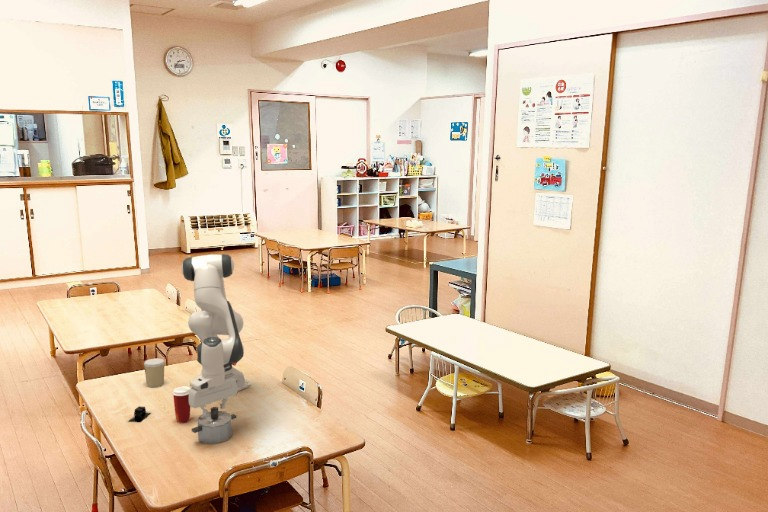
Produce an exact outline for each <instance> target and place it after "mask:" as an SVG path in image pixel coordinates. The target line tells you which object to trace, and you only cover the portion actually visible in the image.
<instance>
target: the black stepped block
mask: <svg viewBox="0 0 768 512" xmlns="http://www.w3.org/2000/svg"><path fill="white" fill-rule="evenodd" d="M146 409H147V408H146V406H140V405H139V406H138V407H136V408H135V409H134V412H133V415H134V416H133V417H131V418H130V419H129V420H128V422H131V423H142V422H143V421H145V419H147V418H148V417H149V416H150V415H151V414H152V412H147V411H146Z"/></svg>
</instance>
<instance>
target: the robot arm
mask: <svg viewBox="0 0 768 512" xmlns="http://www.w3.org/2000/svg"><path fill="white" fill-rule="evenodd" d="M234 270H235V262H234V261H233V259H232V256H230V255H229V254H225V253H222V254H217V253H216V254H205V255H198V256H190V257H186V258H184V259H183V261H182V264H181V275H183V278H184V279H186V281H189V282H190V281H191V282H193V283H194V284H193V296H194V302H195V304H196V306H197V307H198V308H199V309H201V310H199V311H193V312H192V313H191V314H190V315H189V319H188V322H187V323H188V328H189V330H190V331H191V332H192V333H194V334H195V335H196V336H197V338H198V339H199V340H200V343H199V344H198V345H197V347H196V353H197V359H196V361H197V362H198V364H200V365H201V367H202V368H201V374H199V375H198V376H196V377H195V378H193V379H192V380H191V381H190V382H189V387H190V391H189V405H190V408H193V409H198V408H200V409H201V410H202V414H203V415H207V414H208V412H209V409H207V408H206V406H207V405H210V404H213V403H216V402H218V401H219V402H220V401H221V400H222V402H221V403H219V406H220V407H219V408H220V409H221V410H224V409H226V406H227V402H228V401H229V398H231V397H234V396H236V395H237V394H238V392H241V391H242V390H244V389H246V388H249V387H250V382H249V381H248V380H247V379H246V378H245V375H244V373H243V372H242V371H240V370H238V369H237V368H235V367H236V365H237V363H238V362H240V361H241V360H242V359H243V358H244V356H245V355H244V354H245V348H244V345H243V342H242V340H241V337H240V334H239V333H241V331H242V330H243V327H244V318H243V317H242V315H241V314H240V313H239V312H237V311H235V309H234V308H233V307H232V304H231V302H230V301H229V300H228V299H227V295H226V289H225V281H224V279H225V278H229V277H231V276H232V275H233V274H234ZM219 336H228V338H223V339H221V338H220V337H219ZM234 366H235V367H234Z"/></svg>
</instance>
